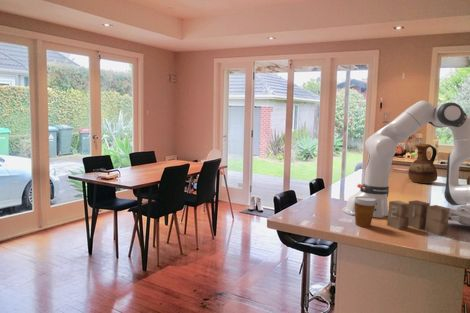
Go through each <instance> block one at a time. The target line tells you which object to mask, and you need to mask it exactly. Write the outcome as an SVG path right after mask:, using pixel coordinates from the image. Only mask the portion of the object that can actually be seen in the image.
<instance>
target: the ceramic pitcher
mask: <svg viewBox="0 0 470 313" xmlns="http://www.w3.org/2000/svg"><path fill="white" fill-rule="evenodd" d="M414 147H416V149H417V151H416V152H417V157H416V159H414V160H413V162H412V163H411V164H410V165H409V168H408V172H407V173H408V174H407V177H408V179H409V181H411V182H414V183H418V182H419V183H421V184H426V183H434V182H436V181H438V171H437V168H436V166H435V164H434V163H435V159H436V158H437V151H438V150H437V149H436V148H437V147H434V146H433V145H431V144H429V143H426V144H425V143H421V144H414ZM429 148H430V149H431V150H432V153H431V157H430V159H428V156H427V151H428V149H429Z"/></svg>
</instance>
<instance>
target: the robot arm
mask: <svg viewBox="0 0 470 313" xmlns="http://www.w3.org/2000/svg"><path fill="white" fill-rule="evenodd" d="M426 124H430V125H432V126H434V127H435V128H440V129H441V128H443V129H444V128H449V129H450V131H451V132H452V136H453V147H452V150H451V152H449V154H448V156H447V161H446V162H447V163H446V178H445V179H446V182H445V188H444V195H443V197H444V199H445V200H446V202H447V203H449V204H450V205H451V206H457V207H456V208H455V209H454V208H451V207H449V208H450V211H449V219H448V221H452V222H458V223H459V224H460V225H462V226H470V184H460V183H459V180H460V179H459V176H460V167H461V166H462V165H463V164H464V163H465V162H467V161H469V160H470V115H467V114H466V112H465V111H464V109H463V107H462V106H461V105H459V104H458V103H456V102H445V103H442V104H438V105H436V106H434V105H433V104H431V103H430V102H429V101H426V100H419V101H417V102H415V103H414V104H412V105H411V106H409V107H408V108H407V109H405V110H404V111H403V112H401V113H400V114H399V115H398V116H397V117H396V118H394V119H393V120H392V121H390V122H389V123H388V124H386V125H385V126H383V127H382V128H380V129H378V130H377V131H375V132H374V133H373V134H372V135H369V136H368V138H366V140H365V143H364V148H365V150H366V152H367V153H368V154H369V158H368V161H367V165H366V168H365V174H364V183H363V184H361V183H357V185H356V186H357V188H358V189H359V191H358V192H356V193H355V194H353V195H351V196H349V198H348V199H347V203H346V206H341V211H342V212H343V213H345V214H347V215H351V216H355V203H354V199H355V197H357V196H364V197H371V198H374V199H376V205H375V208H374V212H373V217H372V218H381V219H382V218H383V219H384V218H385V217H388V210H389V204H388V197H389V192H390V190H389V189H390V187H389V186H390V185H389V183H390V182H389V179H390V171H391V168H392V167H391V166H392V164H393V161H394V160H393V159H394V157H395V154H396V153H397V149H398V148H397V145H399V144H400V143H402V142H404V141H407V140H408V139H409V138H410V137H412V136H413V135H414V134H415V133H416V132H418V131H419V130H420V129H421V128H422V127H423V126H426Z"/></svg>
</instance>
